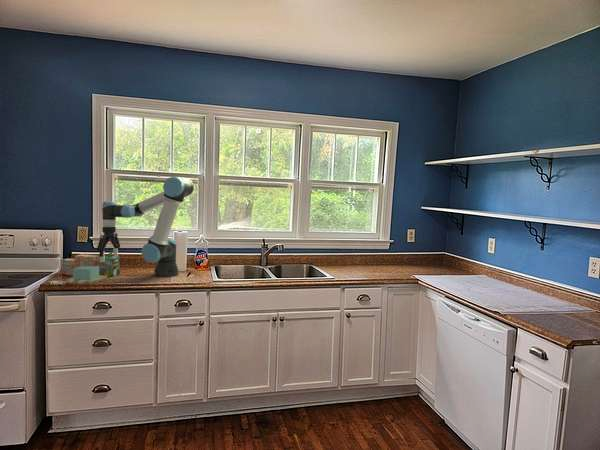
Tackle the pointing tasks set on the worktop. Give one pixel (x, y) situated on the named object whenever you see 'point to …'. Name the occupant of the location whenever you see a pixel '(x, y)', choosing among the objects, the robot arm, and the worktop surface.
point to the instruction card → (57, 282)
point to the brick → (86, 272)
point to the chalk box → (109, 266)
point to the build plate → (85, 280)
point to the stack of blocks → (78, 263)
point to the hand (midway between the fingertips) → (109, 260)
